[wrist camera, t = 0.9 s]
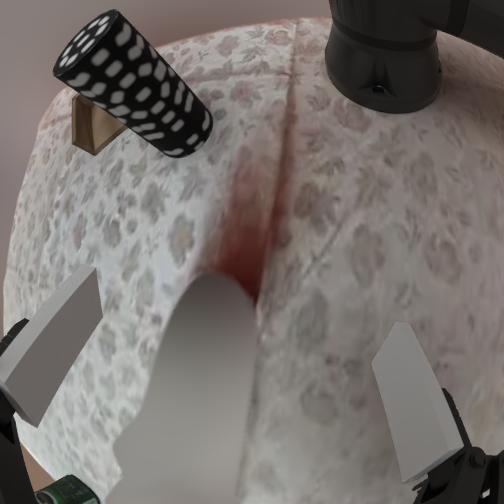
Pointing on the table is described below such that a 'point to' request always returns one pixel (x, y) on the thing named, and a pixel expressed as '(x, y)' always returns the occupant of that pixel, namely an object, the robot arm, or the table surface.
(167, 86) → the white-spotted black cylinder
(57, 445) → the table surface
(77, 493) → the coffee jar
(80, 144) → the tray
